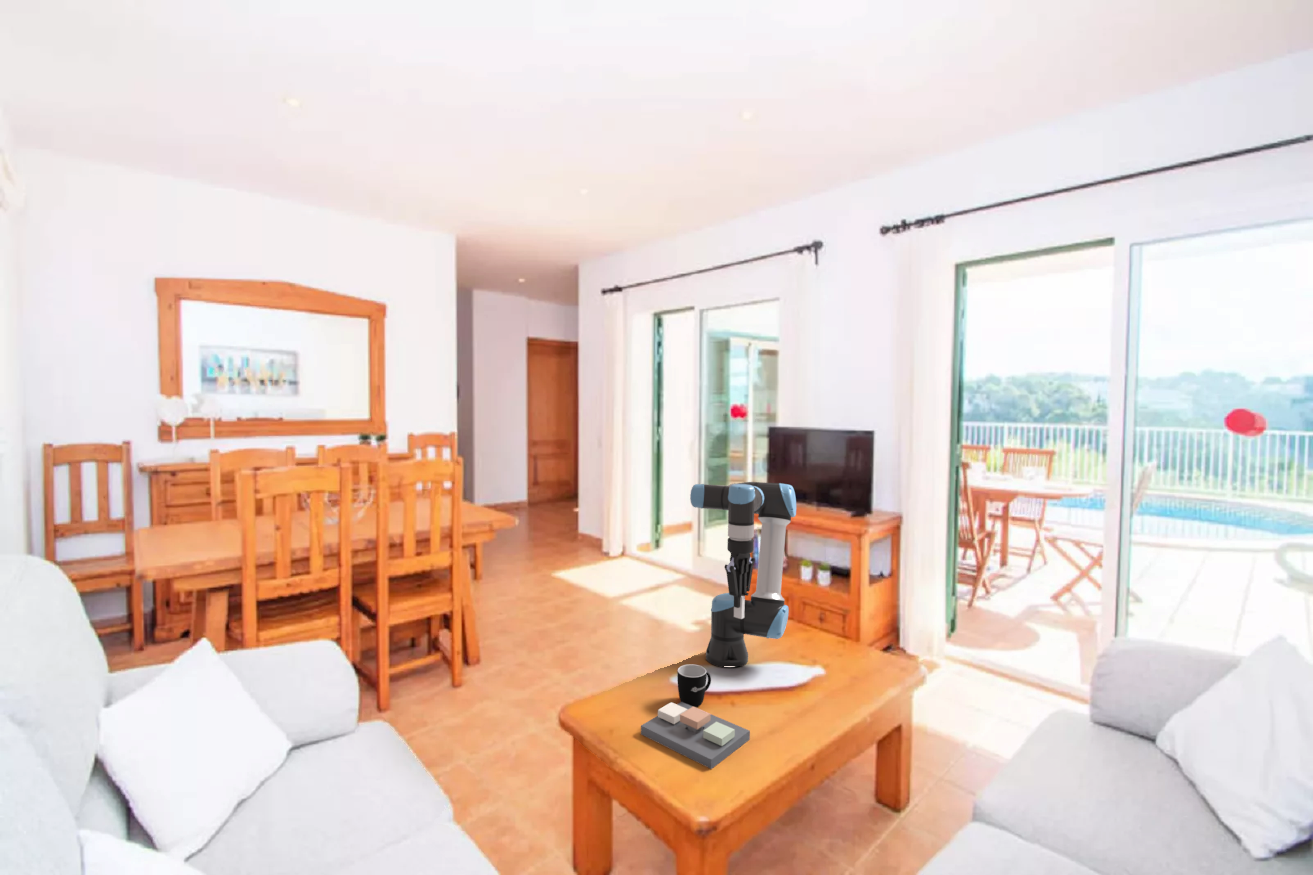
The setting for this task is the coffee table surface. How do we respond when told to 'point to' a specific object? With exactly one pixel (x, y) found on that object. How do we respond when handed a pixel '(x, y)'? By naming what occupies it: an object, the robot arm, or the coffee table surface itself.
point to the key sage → (719, 733)
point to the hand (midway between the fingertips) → (739, 617)
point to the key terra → (695, 719)
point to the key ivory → (671, 712)
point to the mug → (692, 684)
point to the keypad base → (694, 739)
